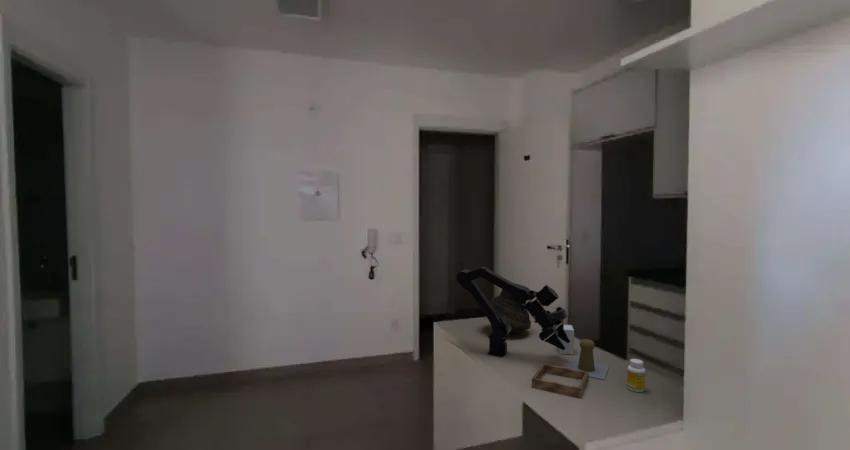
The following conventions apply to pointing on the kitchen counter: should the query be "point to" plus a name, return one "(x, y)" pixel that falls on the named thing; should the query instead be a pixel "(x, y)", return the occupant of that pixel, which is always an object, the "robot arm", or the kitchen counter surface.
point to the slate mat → (598, 373)
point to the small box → (570, 333)
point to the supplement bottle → (636, 376)
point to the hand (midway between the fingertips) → (566, 346)
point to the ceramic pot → (511, 311)
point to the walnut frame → (559, 387)
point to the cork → (586, 356)
